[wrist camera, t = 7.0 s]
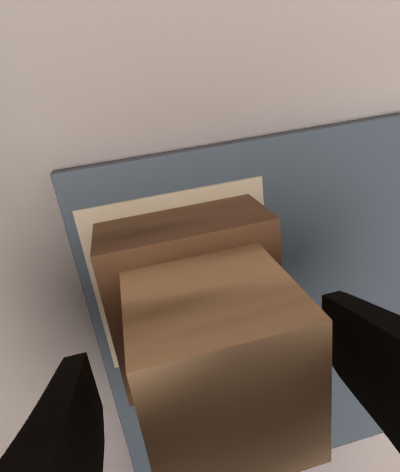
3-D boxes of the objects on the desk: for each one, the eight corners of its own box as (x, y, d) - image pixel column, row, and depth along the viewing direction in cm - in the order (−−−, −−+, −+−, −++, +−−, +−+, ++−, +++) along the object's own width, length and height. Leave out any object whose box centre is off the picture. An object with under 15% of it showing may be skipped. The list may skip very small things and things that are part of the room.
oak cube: (266, 352, 14) (331, 461, 10) (146, 384, 13) (162, 515, 9) (258, 242, 12) (332, 320, 8) (119, 272, 12) (126, 373, 8)
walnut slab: (258, 320, 17) (286, 364, 15) (125, 353, 16) (129, 406, 14) (248, 193, 15) (279, 218, 12) (93, 223, 14) (89, 257, 11)
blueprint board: (390, 420, 23) (398, 429, 23) (143, 495, 21) (145, 509, 20) (420, 109, 16) (433, 110, 15) (52, 171, 14) (49, 175, 13)
